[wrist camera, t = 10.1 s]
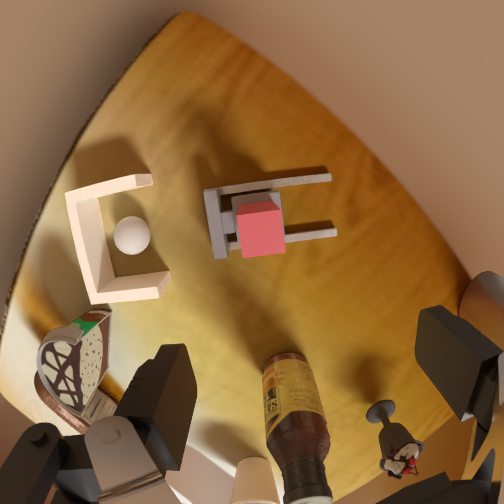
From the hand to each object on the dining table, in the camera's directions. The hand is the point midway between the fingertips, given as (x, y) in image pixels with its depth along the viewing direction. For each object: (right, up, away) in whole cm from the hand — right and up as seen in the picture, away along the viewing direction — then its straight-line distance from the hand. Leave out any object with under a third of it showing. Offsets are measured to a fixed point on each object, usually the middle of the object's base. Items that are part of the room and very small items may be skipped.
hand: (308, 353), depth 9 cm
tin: (-26, -17, +28) cm, 42 cm away
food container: (-23, -7, +26) cm, 36 cm away
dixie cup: (-2, -33, +33) cm, 46 cm away
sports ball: (-14, +6, +23) cm, 27 cm away
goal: (-15, +5, +23) cm, 28 cm away
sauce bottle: (+2, -12, +27) cm, 30 cm away
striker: (-2, +7, +21) cm, 22 cm away
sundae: (+18, -21, +30) cm, 41 cm away
